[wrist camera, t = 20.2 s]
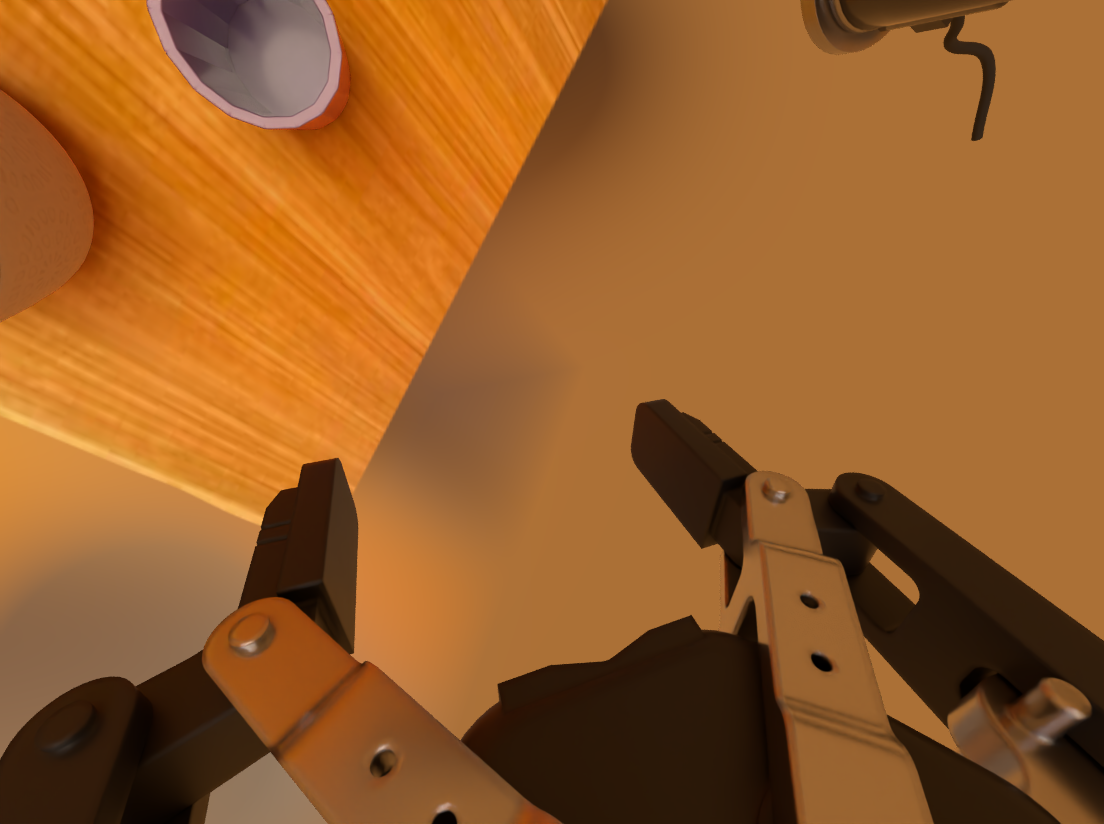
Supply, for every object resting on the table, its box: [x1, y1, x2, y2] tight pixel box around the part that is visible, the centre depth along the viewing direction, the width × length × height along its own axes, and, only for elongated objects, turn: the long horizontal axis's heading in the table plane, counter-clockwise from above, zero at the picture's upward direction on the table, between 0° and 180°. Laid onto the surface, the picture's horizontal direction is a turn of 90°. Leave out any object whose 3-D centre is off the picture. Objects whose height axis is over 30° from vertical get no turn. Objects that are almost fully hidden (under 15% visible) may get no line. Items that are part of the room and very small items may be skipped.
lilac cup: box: [147, 0, 351, 130], centre depth 21 cm, size 6×6×10 cm
